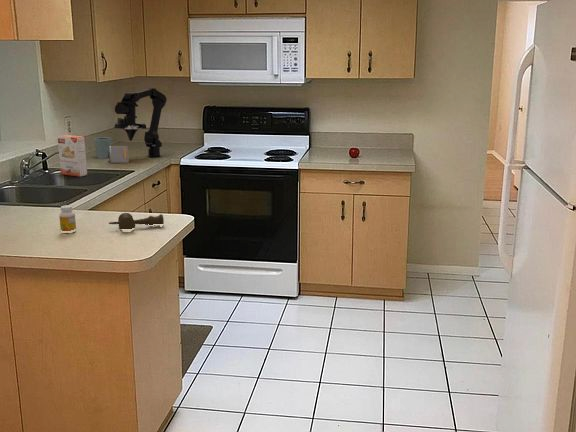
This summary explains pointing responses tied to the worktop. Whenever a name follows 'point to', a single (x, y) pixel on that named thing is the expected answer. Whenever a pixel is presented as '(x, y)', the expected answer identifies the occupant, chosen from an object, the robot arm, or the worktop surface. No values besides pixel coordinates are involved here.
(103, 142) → the drinking glass
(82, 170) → the cracker box
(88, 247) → the worktop surface
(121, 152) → the pale grey square case
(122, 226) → the kendama
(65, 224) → the supplement bottle
